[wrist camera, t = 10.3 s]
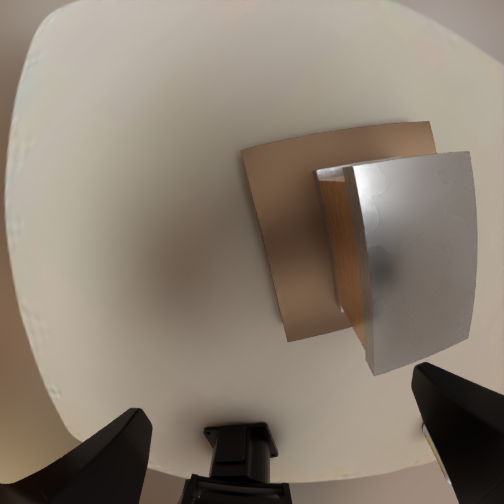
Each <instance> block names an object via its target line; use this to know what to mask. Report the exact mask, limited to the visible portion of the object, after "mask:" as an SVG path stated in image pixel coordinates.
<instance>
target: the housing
mask: <svg viewBox="0 0 504 504" xmlns="http://www.w3.org/2000/svg"><path fill="white" fill-rule="evenodd" d="M312 172H313V176H314V181H315V185H316V190H317V194H318V199H319V204H320V208H321V213H322V218H323V224H324V229H325V234H326V240H327V245H328V251H329V257H330V263H331V269H332V276H333V282H334V289H335V296H336V303H337V305H338V307H339V309H340V311H341V312H345V314H346V316H347V318H348V319H349V321H350V323H351V325H352V327H353V329H354V330H355V332H356V334H357V336H358V338H359V340H360V342H361V344H362V345H363V347H364V349H365V354H366V361H367V363H368V365H369V367H370V369H371V371H372V373H373V376H377V375H380V374H383V373H386V372H389V371H392V370H394V369H397V368H400V367H403V366H406V365H408V364H411V363H413V362H416V361H418V360H421V359H423V358H426V357H428V356H431V355H433V354H435V353H438V352H440V351H442V350H444V349H447V348H449V347H451V346H453V345H455V344H457V343H459V342H461V341H463V340H465V339H467V338H468V336H469V331H470V325H471V319H472V312H473V305H474V296H475V286H476V272H477V211H476V198H475V187H474V179H473V171H472V165H471V158H470V153H469V151H464V152H448V153H438V154H429V155H421V156H413V157H405V158H402V157H401V156H400V157H391V158H384V159H377V160H371V161H365V162H359V163H353V164H347V165H342V166H336V167H331V168H326V169H320V170H315V171H312Z"/></svg>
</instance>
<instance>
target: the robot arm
mask: <svg viewBox="0 0 504 504" xmlns="http://www.w3.org/2000/svg"><path fill="white" fill-rule="evenodd" d="M411 387H412V391H413V394H414V396H415V399H416V402H417V405H418V407H419V410H420V413H421V416H422V419H423V422H424V424H425V427H426V429H427V431H428V433H429V435H430V437H431V439H432V441H433V443H434V446H435V448H436V450H437V452H438V454H439V456H440V459H441V461H442V463H443V465H444V468H445V470H446V472H447V475H448V477H449V479H450V482H451V484H452V487H453V489H454V491H455V494H456V497H457V499H458V501H459V504H504V395H502V394H499V393H497V392H495V391H492V390H490V389H487V388H485V387H483V386H480V385H478V384H476V383H473V382H471V381H469V380H466V379H464V378H462V377H460V376H457V375H455V374H453V373H451V372H448V371H446V370H444V369H441V368H439V367H437V366H435V365H433V364H430V363H428V362H423V363H421V364H418V365H416V366H415V367H414V370H413V377H412V383H411ZM203 433H204V435H205V436H206V438H207V439H208V441H209V442H210V444H211V445H212V447H213V448H214V450H213V455H212V461H211V467H210V472H209V477H203V476H198V475H197V474H192V476H191V479H187V480H186V481H185V485H184V489H183V492H182V495H181V497H180V500H179V502H178V504H292V500H291V494H290V489H289V483H282V484H275V483H270V458H272V457H277V456H278V451H277V448H276V446H275V443H274V441H273V438H272V436H271V433H270V430H269V428H268V425H267V424H265V423H259V424H250V425H241V426H229V427H212V428H205V429H204V432H203ZM151 436H152V424H151V422H150V420H149V419H148V417H147V416H146V414H145V413H144V411H143V410H142V409H141V408H130V409H128V410H127V411H126V412H124V413H123V414H122V415H120V416H119V417H118V418H116V419H115V420H113V421H112V422H111V423H109V424H108V425H107V426H105V427H104V428H103V429H101V430H100V431H98V432H97V433H96V434H94V435H93V436H91V437H90V438H89V439H87V440H86V441H84V442H83V443H81V444H80V445H79V446H77V447H76V448H74V449H73V450H71V451H70V452H68V453H67V454H65V455H64V456H63V457H61V458H59V459H58V460H56V461H55V462H53V463H52V464H50V465H48V466H47V467H45V468H43V469H42V470H40V471H38V472H36V473H34V474H32V475H30V476H28V477H26V478H24V479H22V480H19V481H17V482H15V483H11V484H0V504H139V500H140V495H141V491H142V487H143V482H144V478H145V474H146V469H147V465H148V459H149V452H150V444H151ZM199 496H200V498H198V497H199Z"/></svg>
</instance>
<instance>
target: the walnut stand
mask: <svg viewBox="0 0 504 504" xmlns="http://www.w3.org/2000/svg"><path fill="white" fill-rule="evenodd" d="M241 154H242V158H243V161H244V165H245V169H246V173H247V177H248V181H249V185H250V189H251V193H252V197H253V201H254V205H255V209H256V213H257V217H258V221H259V225H260V229H261V233H262V237H263V241H264V245H265V249H266V253H267V257H268V261H269V265H270V269H271V274H272V278H273V282H274V286H275V290H276V294H277V299H278V303H279V307H280V311H281V316H282V320H283V324H284V328H285V333H286V337H287V341H288V342H291V341H296V340H300V339H305V338H309V337H313V336H318V335H322V334H326V333H330V332H334V331H338V330H341V329H345V328H349V327H352V325H351V323H350V321H349V319H348V318H347V316H346V314H345V312H341V311H340V309H339V307H338V305H337V303H336V296H335V289H334V282H333V276H332V269H331V263H330V257H329V251H328V245H327V240H326V234H325V229H324V224H323V218H322V213H321V208H320V204H319V199H318V194H317V190H316V185H315V181H314V176H313V172H312V171H315V170H320V169H326V168H331V167H336V166H342V165H347V164H353V163H359V162H365V161H371V160H377V159H384V158H391V157H400V156H401V157H402V158H405V157H413V156H421V155H429V154H437V153H436V148H435V143H434V139H433V134H432V130H431V126H430V122H429V121H423V122H406V123H394V124H383V125H374V126H365V127H357V128H350V129H343V130H336V131H330V132H324V133H318V134H312V135H307V136H302V137H296V138H291V139H286V140H282V141H277V142H273V143H268V144H264V145H259V146H255V147H251V148H247V149H243V150H241Z"/></svg>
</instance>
